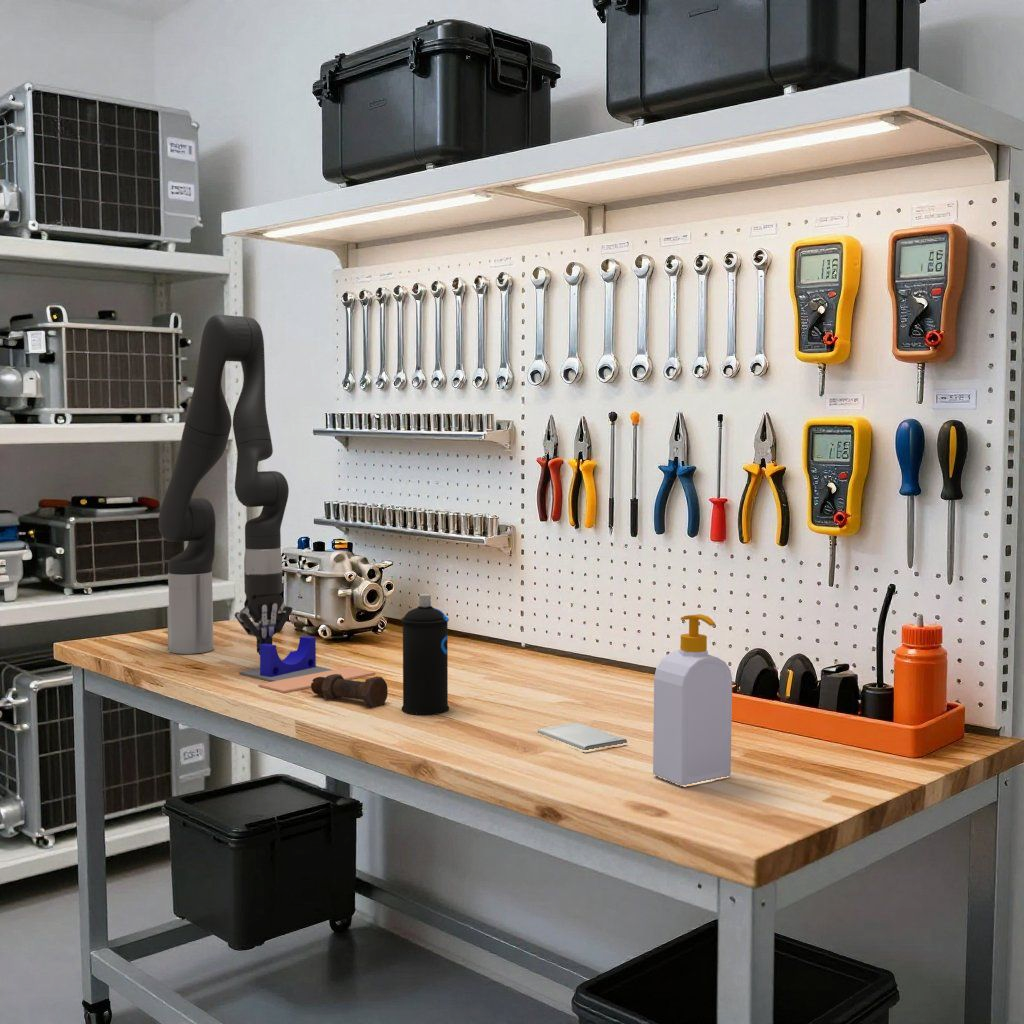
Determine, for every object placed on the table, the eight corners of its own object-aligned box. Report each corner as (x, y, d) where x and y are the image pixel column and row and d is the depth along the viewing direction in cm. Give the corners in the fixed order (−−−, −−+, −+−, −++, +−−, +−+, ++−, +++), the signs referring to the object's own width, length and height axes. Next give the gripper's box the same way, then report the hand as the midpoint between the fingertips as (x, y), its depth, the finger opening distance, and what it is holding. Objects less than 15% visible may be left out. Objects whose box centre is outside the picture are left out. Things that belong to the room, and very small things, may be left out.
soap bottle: (685, 790, 154) (687, 621, 153) (652, 777, 160) (654, 614, 158) (735, 779, 159) (737, 615, 157) (701, 767, 165) (703, 608, 163)
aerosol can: (409, 717, 193) (408, 599, 192) (395, 706, 201) (395, 592, 199) (455, 712, 196) (455, 596, 195) (440, 702, 204) (440, 590, 202)
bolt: (319, 704, 210) (382, 713, 202) (301, 695, 206) (364, 704, 198) (329, 674, 212) (391, 681, 204) (312, 665, 208) (375, 672, 200)
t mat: (221, 677, 224) (221, 675, 224) (312, 660, 240) (312, 658, 240) (284, 693, 211) (284, 690, 211) (375, 674, 227) (375, 672, 227)
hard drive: (627, 738, 176) (579, 721, 187) (584, 746, 172) (537, 728, 182) (627, 749, 176) (579, 731, 187) (584, 757, 172) (537, 738, 182)
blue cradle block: (300, 664, 235) (300, 635, 234) (315, 666, 232) (315, 637, 232) (254, 674, 225) (254, 643, 225) (270, 677, 222) (270, 646, 222)
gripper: (279, 566, 239) (280, 648, 240) (224, 571, 229) (226, 657, 230) (301, 569, 234) (302, 653, 235) (246, 574, 224) (248, 662, 225)
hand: (264, 655), depth 233 cm, fingers closed
